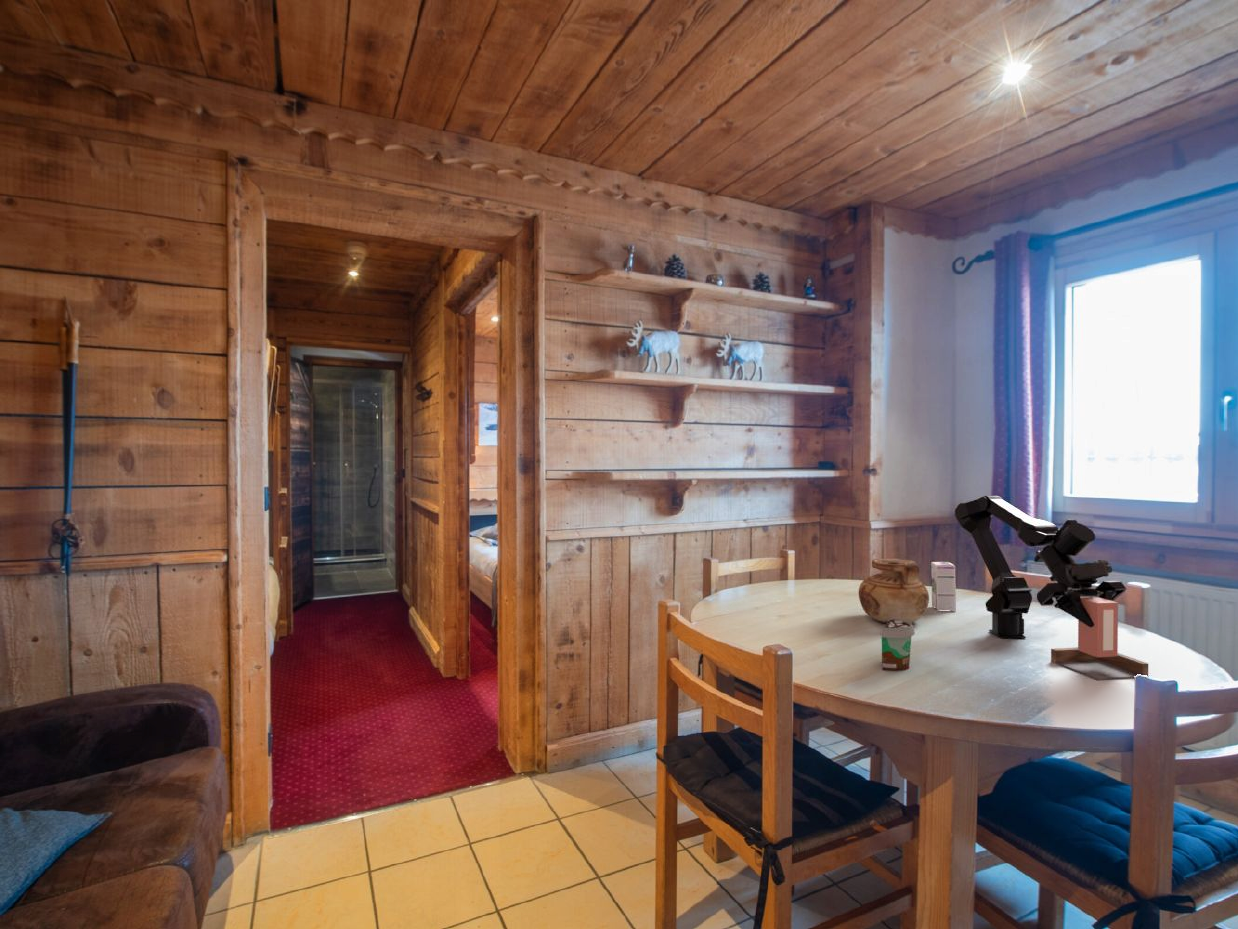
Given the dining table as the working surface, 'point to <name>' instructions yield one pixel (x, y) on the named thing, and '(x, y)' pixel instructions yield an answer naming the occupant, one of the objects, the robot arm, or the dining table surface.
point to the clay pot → (894, 591)
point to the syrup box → (943, 586)
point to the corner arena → (1099, 664)
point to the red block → (1099, 628)
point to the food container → (896, 644)
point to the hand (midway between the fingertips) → (1103, 625)
